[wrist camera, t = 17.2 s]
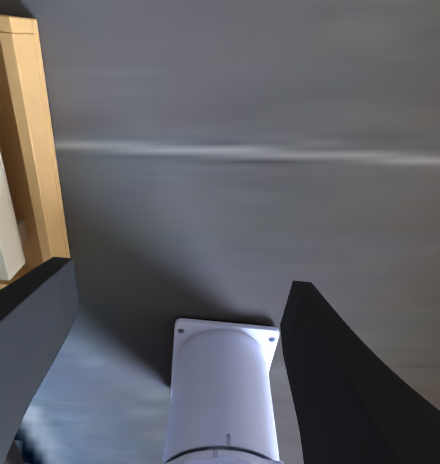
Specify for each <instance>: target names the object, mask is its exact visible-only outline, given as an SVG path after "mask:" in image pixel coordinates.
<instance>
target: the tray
mask: <svg viewBox="0 0 440 464" xmlns="http://www.w3.org/2000/svg"><path fill="white" fill-rule="evenodd" d="M0 106H1V111H0V151H1V155H2V160H3V164H4V168H5V173H6V177H7V182H8V186H9V191H10V195H11V199H12V204H13V208H14V213H15V217H16V218H19V219H24V220H25V224H26V229H27V233H28V238H29V241H28V242H27V243H26V244H25V245H24V246H23V247H22V248H23V252H24V257H25V261H26V263H25V264H24V265H23V266H22V267H21V269H20V270H19V271H18V272H17V273H16V274H15V275H14V276H13V278H12V279H11V280H9V281H8V280H0V290H1V289H2V288H4V287H6V286H7V285H9V284H10V283H12V282H14V281H15V280H17V279H18V278H20V277H22V276H23V275H25V274H26V273H28V272H29V271H31V270H33V269H34V268H36V267H37V266H39V265H40V264H42V263H44V262H45V261H47V260H49V259H50V258H52V257H64V258H70V252H69V245H68V238H67V231H66V224H65V217H64V210H63V203H62V196H61V189H60V181H59V174H58V167H57V160H56V153H55V146H54V139H53V132H52V125H51V118H50V111H49V104H48V96H47V89H46V82H45V75H44V68H43V61H42V54H41V47H40V40H39V33H38V26H37V20H36V19H33V18H25V17H18V16H10V15H3V14H0Z"/></svg>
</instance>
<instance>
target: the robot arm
mask: <svg viewBox="0 0 440 464" xmlns="http://www.w3.org/2000/svg"><path fill="white" fill-rule="evenodd" d="M78 309H79V298H78V291H77V284H76V276H75V269H74V262H73V258H64V257H52V258H50V259H49V260H47V261H45V262H44V263H42V264H40V265H39V266H37V267H36V268H34V269H33V270H31V271H29V272H28V273H26V274H25V275H23V276H22V277H20V278H18V279H17V280H15V281H14V282H12V283H10V284H9V285H7V286H6V287H4V288H2V289H1V290H0V464H3V463H4V461H5V458H6V456H7V453H8V450H9V448H10V446H11V444H12V442H13V440H14V437H15V435H16V433H17V431H18V428H19V426H20V424H21V421H22V419H23V417H24V415H25V413H26V411H27V409H28V407H29V405H30V403H31V401H32V399H33V397H34V395H35V394H36V392H37V390H38V388H39V386H40V385H41V383H42V381H43V379H44V377H45V376H46V374H47V372H48V370H49V369H50V367H51V365H52V363H53V361H54V360H55V358H56V356H57V354H58V352H59V351H60V349H61V347H62V345H63V343H64V341H65V340H66V338H67V336H68V334H69V331H70V329H71V327H72V324H73V322H74V319H75V317H76V314H77V311H78ZM280 328H281V340H282V349H283V356H284V361H285V366H286V370H287V375H288V379H289V384H290V388H291V393H292V397H293V402H294V406H295V411H296V415H297V420H298V425H299V430H300V436H301V443H302V451H303V459H304V464H440V411H439V410H438V409H437V408H436V407H434V406H433V405H432V404H431V403H429V402H428V401H427V400H426V399H424V398H423V397H422V396H421V395H419V394H418V393H417V392H416V391H415V390H413V389H412V388H411V387H410V386H409V385H408V384H406V383H405V382H404V381H403V380H402V379H401V378H400V377H399V376H398V375H396V374H395V373H394V372H393V371H392V370H391V369H390V368H389V367H388V366H386V365H385V364H384V363H383V362H382V361H381V360H380V359H379V358H378V357H377V356H376V355H375V354H374V353H373V352H372V351H371V350H370V349H369V348H368V347H367V346H366V345H365V344H364V343H363V342H362V341H361V339H360V338H359V337H358V336H357V335H356V334H355V333H354V332H353V331H352V330H351V329H350V327H349V326H348V325H347V324H346V323H345V322H344V321H343V320H342V318H341V317H340V316H339V315H338V314H337V313H336V311H335V310H334V309H333V308H332V307H331V305H330V304H329V303H328V302H327V301H326V299H325V298H324V297H323V296H322V295H321V293H320V292H319V291H318V290H317V289H316V287H315V286H314V285H313V284H312V283H311V282H301V281H293V283H292V286H291V290H290V293H289V297H288V300H287V304H286V307H285V310H284V314H283V317H282V321H281V324H280ZM181 329H182V330H181ZM270 337H272V338H270ZM278 337H279V330H278V328H276V327H270V326H259V325H249V324H238V323H228V322H217V321H206V320H196V319H185V318H179V319H177V320H176V322H175V329H174V345H173V360H172V376H171V392H170V394H171V396H172V398H171V404H170V411H169V418H168V424H167V431H166V438H165V444H164V451H163V458H162V464H284V462H283V461H280V460H279V453H278V445H277V437H276V429H275V422H274V414H273V406H272V398H271V390H270V383H269V375H268V371H269V368H270V365H271V361H272V358H273V354H274V351H275V348H276V344H277V341H278Z"/></svg>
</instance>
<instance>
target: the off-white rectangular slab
mask: <svg viewBox="0 0 440 464" xmlns="http://www.w3.org/2000/svg"><path fill="white" fill-rule="evenodd" d="M0 111H1V106H0ZM28 241H29V238H28V233H27V229H26V224H25V220H24V219H19V218H16V217H15V213H14V208H13V204H12V199H11V195H10V191H9V186H8V182H7V177H6V173H5V168H4V164H3V160H2V155H1V151H0V280H8V281H9V280H11V279H12V278H13V276H14V275H15V274H16V273H17V272H18V271H19V270H20V269H21V267H22V266H23V265H24V264H25V263H26V261H25V257H24V252H23V248H22V247H23V246H24V245H25V244H26V243H27V242H28Z"/></svg>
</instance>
